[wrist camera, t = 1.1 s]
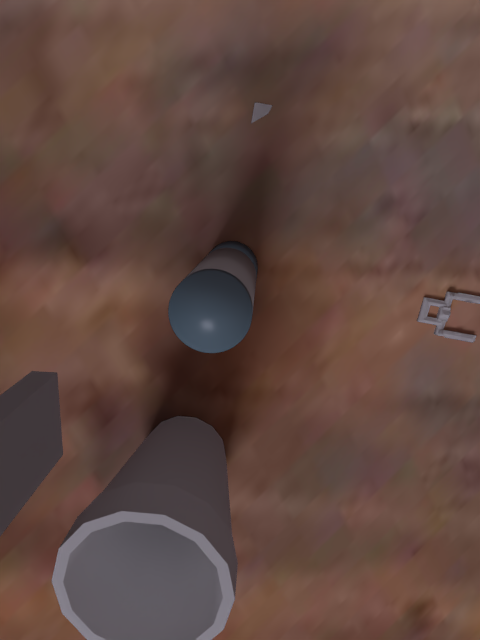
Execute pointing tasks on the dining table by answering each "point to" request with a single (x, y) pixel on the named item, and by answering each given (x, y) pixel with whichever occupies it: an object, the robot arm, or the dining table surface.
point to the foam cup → (154, 544)
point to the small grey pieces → (443, 306)
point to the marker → (216, 299)
